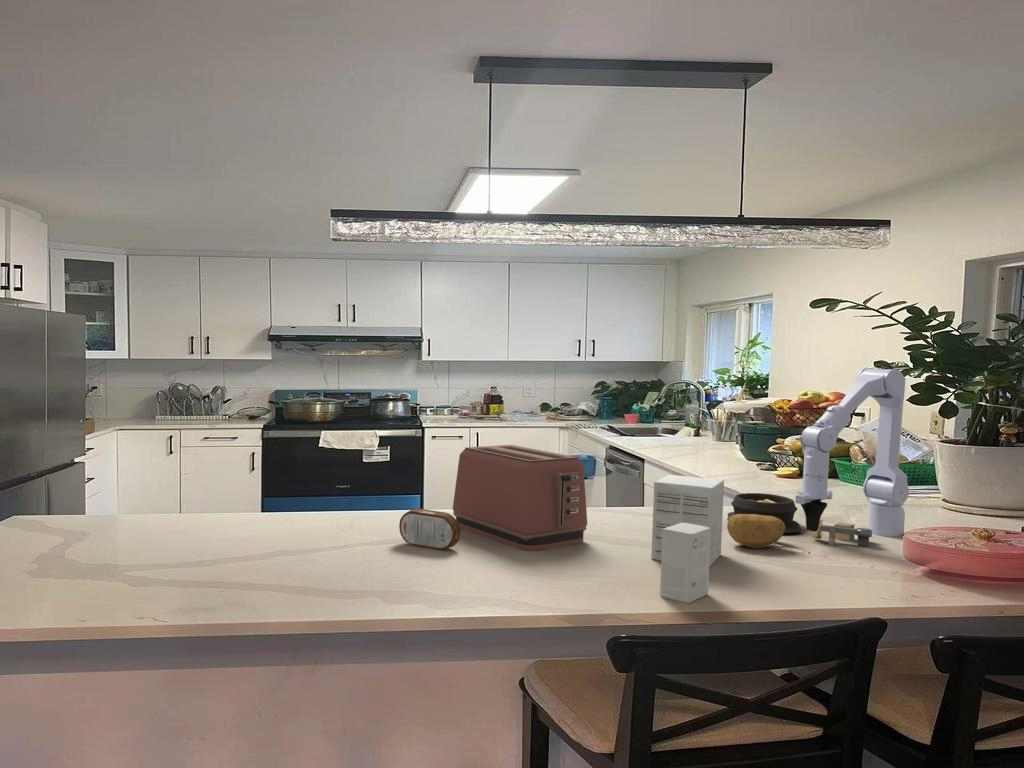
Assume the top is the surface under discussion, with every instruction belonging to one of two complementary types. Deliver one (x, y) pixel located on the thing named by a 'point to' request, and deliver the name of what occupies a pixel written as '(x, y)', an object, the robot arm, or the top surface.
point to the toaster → (521, 496)
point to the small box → (685, 562)
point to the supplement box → (688, 508)
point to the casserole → (767, 508)
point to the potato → (755, 529)
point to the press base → (861, 540)
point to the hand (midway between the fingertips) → (812, 530)
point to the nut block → (844, 536)
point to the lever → (841, 531)
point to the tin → (429, 529)
